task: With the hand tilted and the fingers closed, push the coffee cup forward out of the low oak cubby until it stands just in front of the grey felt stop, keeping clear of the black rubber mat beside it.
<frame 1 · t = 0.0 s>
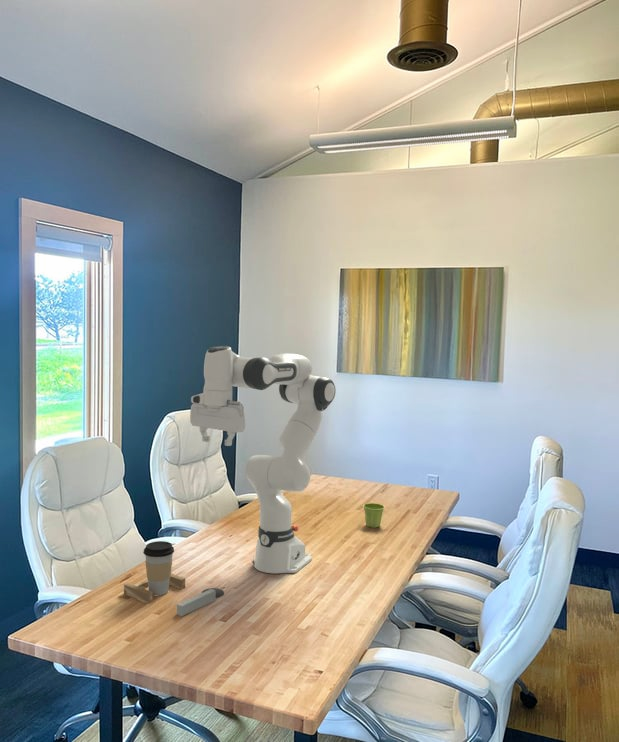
hand: (216, 443, 192), 48 cm above the table, tool pointing down, fingers open, 8 cm apart
plant pot: (373, 526, 270), on the table
oak cubby: (155, 590, 196), on the table
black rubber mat: (212, 593, 196), on the table
coffee cup: (158, 592, 196), on the table
felt stop: (196, 606, 186), on the table
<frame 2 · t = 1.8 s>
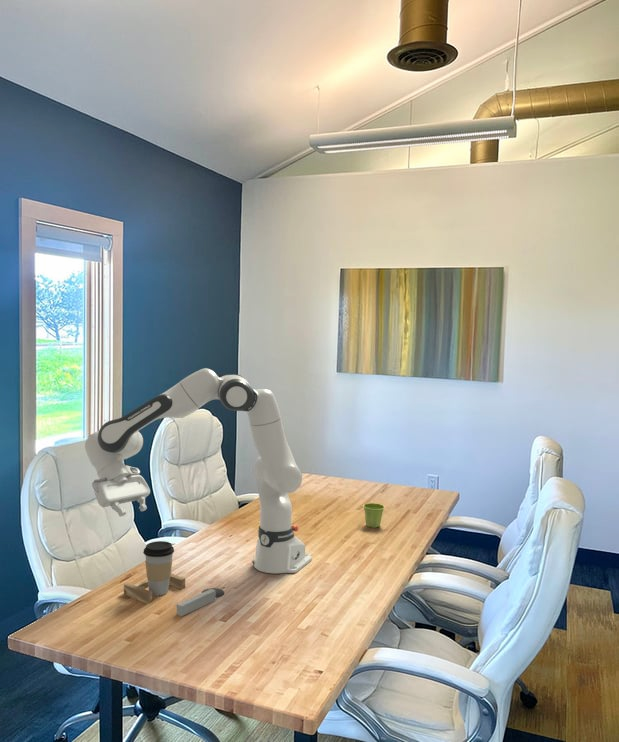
hand: (134, 512, 199), 24 cm above the table, tool tilted 40°, fingers open, 8 cm apart
nothing on the table moved.
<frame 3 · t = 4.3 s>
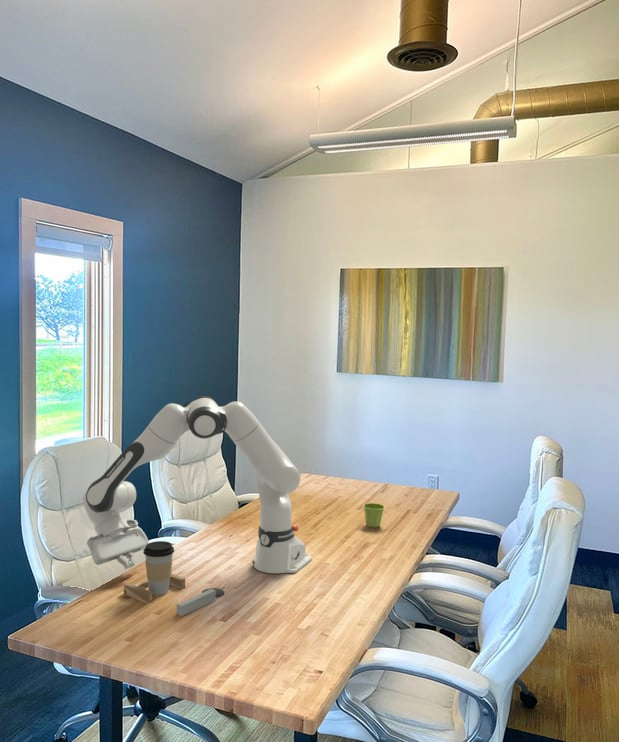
hand: (130, 566, 203), 5 cm above the table, tool tilted 45°, fingers closed
nothing on the table moved.
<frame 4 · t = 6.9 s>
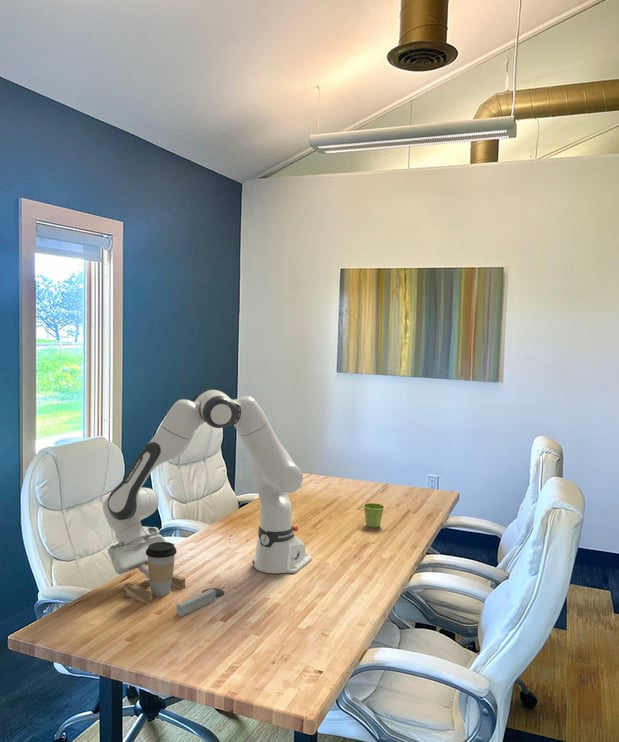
hand: (152, 576, 197), 4 cm above the table, tool tilted 45°, fingers closed, pressing on coffee cup
coffee cup: (160, 593, 195), on the table, touching gripper
everything else where it was.
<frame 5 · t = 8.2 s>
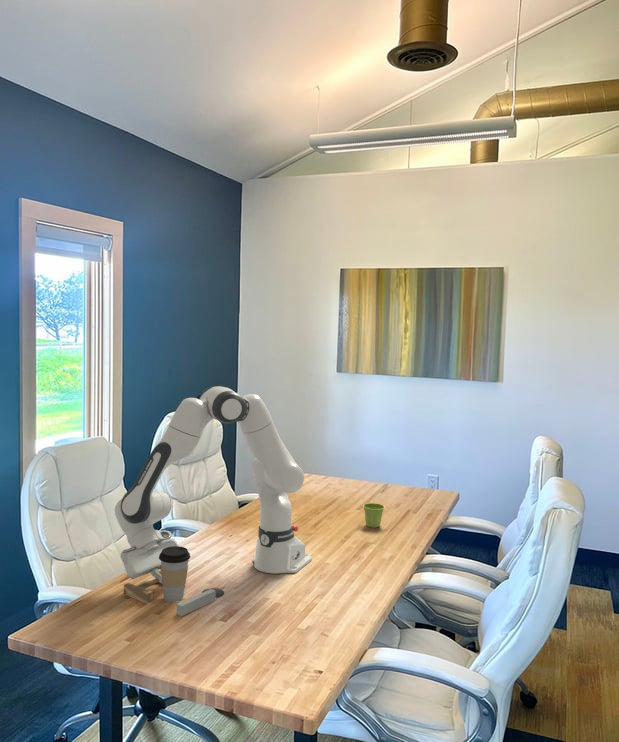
hand: (165, 581, 194), 4 cm above the table, tool tilted 45°, fingers closed, pressing on coffee cup
coffee cup: (173, 598, 191), on the table, touching gripper
everything else where it was.
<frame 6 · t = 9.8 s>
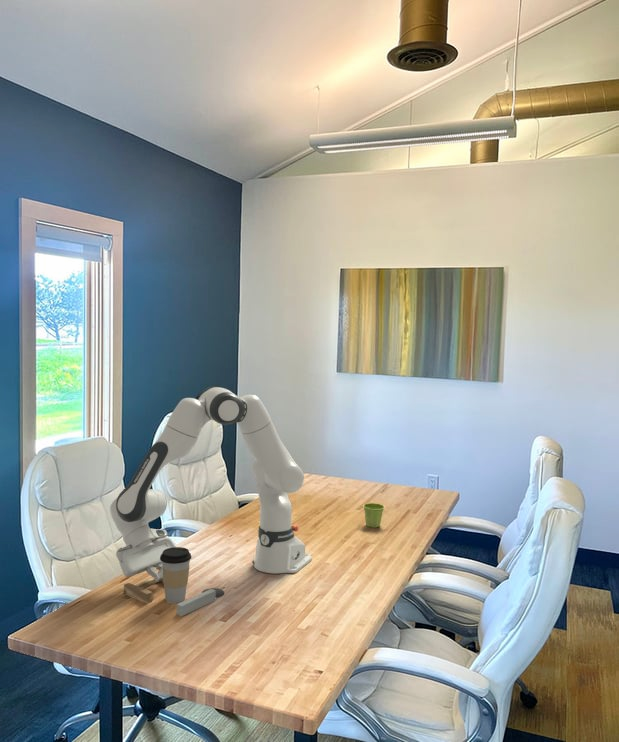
hand: (161, 579, 194), 5 cm above the table, tool tilted 45°, fingers closed
coffee cup: (175, 599, 191), on the table
everything else where it was.
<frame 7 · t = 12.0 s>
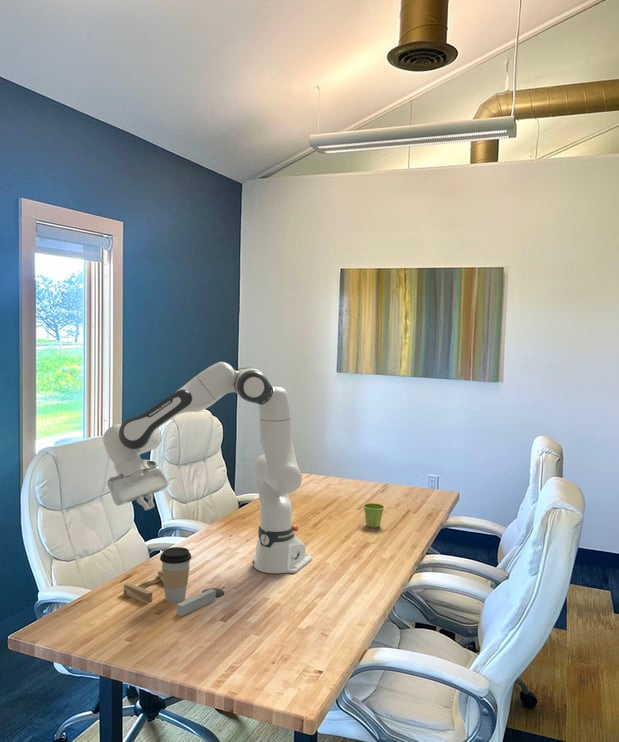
hand: (150, 508, 202), 24 cm above the table, tool tilted 35°, fingers closed
nothing on the table moved.
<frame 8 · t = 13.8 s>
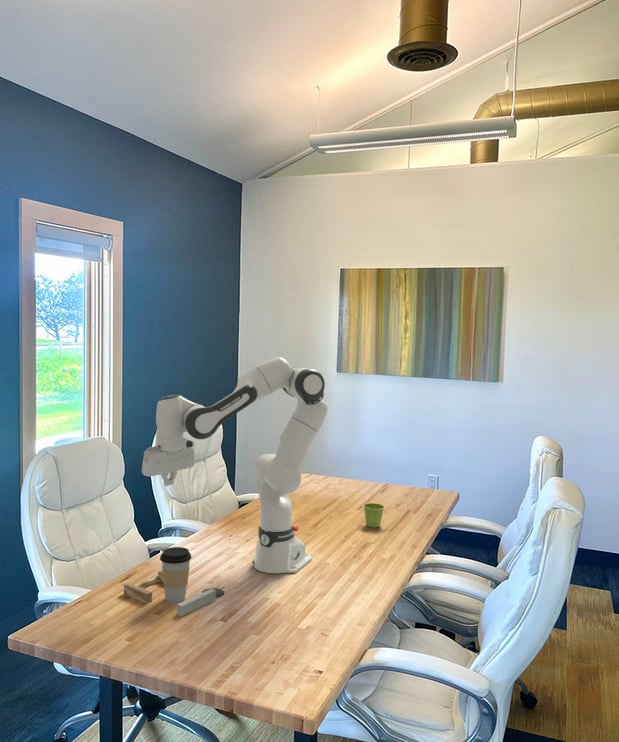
hand: (168, 485, 206), 31 cm above the table, tool pointing down, fingers closed
nothing on the table moved.
at the end: coffee cup inside the target area (1.8 cm from its centre), on the table; coffee cup tilted 0°; coffee cup moved 8.0 cm from its start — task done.
